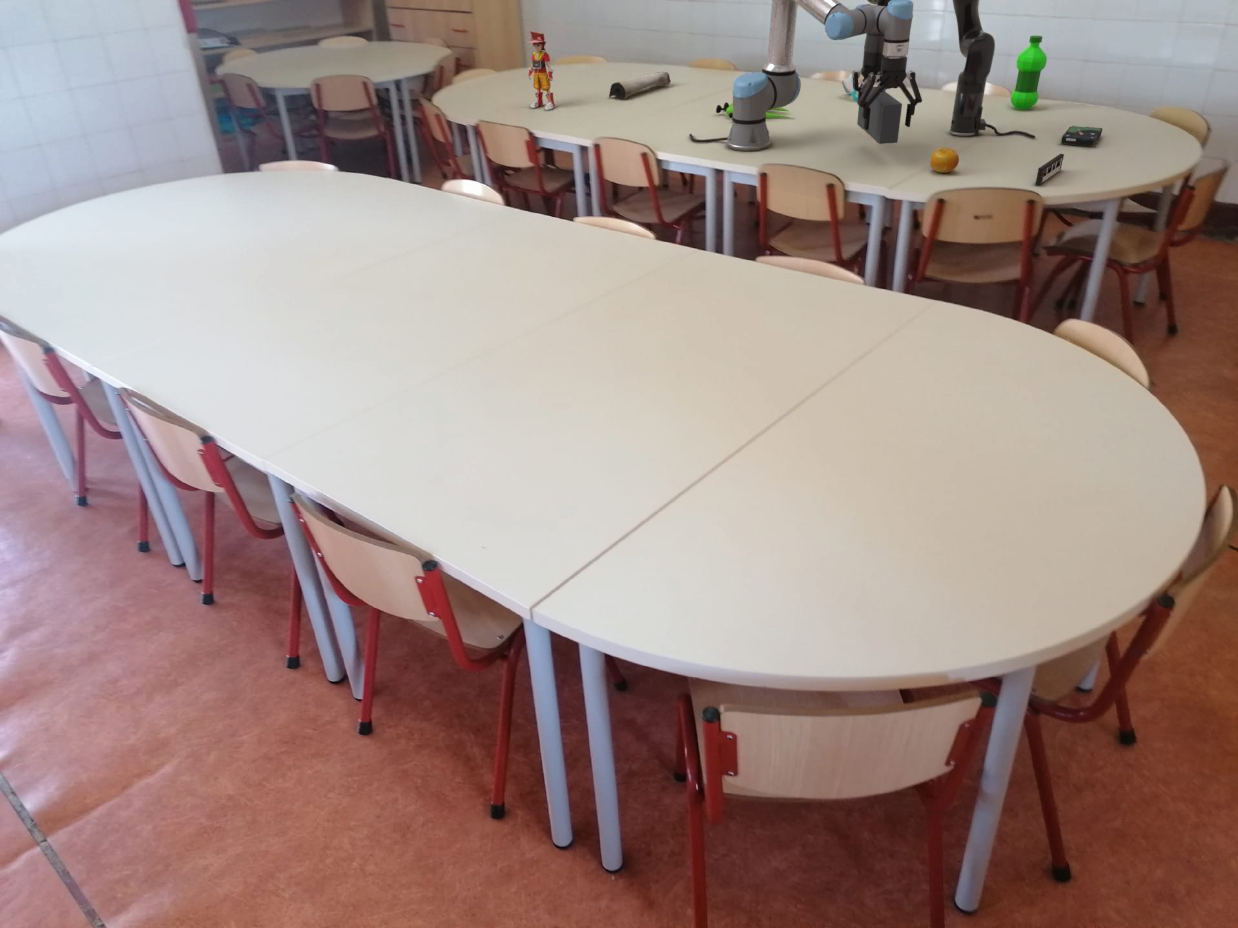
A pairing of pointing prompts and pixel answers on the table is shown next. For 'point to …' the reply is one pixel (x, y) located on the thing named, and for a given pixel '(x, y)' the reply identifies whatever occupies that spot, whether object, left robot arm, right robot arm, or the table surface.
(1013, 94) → the plastic bottle
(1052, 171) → the midi keyboard
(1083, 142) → the disk drive
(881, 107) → the box
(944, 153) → the fruit
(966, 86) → the right robot arm
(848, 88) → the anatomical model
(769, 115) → the toy
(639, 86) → the rolled mat
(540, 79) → the toy
